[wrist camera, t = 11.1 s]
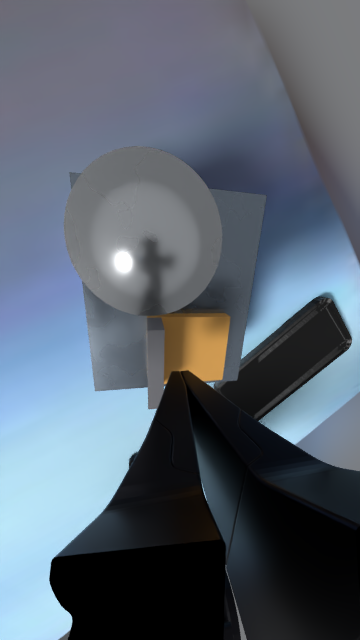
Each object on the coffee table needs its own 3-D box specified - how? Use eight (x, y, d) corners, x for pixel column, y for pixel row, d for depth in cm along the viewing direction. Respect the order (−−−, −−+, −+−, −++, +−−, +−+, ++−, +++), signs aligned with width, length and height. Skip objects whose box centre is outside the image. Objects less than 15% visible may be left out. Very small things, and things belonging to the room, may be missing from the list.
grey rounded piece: (185, 290, 15) (214, 315, 9) (107, 289, 14) (75, 316, 8) (189, 207, 13) (230, 159, 7) (100, 199, 12) (50, 132, 6)
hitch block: (214, 349, 19) (237, 380, 14) (109, 354, 17) (95, 391, 12) (228, 214, 15) (266, 195, 10) (96, 202, 13) (69, 172, 9)
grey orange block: (147, 377, 13) (217, 373, 13) (148, 409, 10) (235, 400, 11) (146, 313, 11) (225, 313, 12) (147, 330, 9) (247, 328, 9)
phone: (354, 344, 21) (250, 427, 22) (344, 339, 22) (245, 419, 23) (328, 292, 18) (211, 390, 19) (318, 290, 19) (207, 383, 20)
